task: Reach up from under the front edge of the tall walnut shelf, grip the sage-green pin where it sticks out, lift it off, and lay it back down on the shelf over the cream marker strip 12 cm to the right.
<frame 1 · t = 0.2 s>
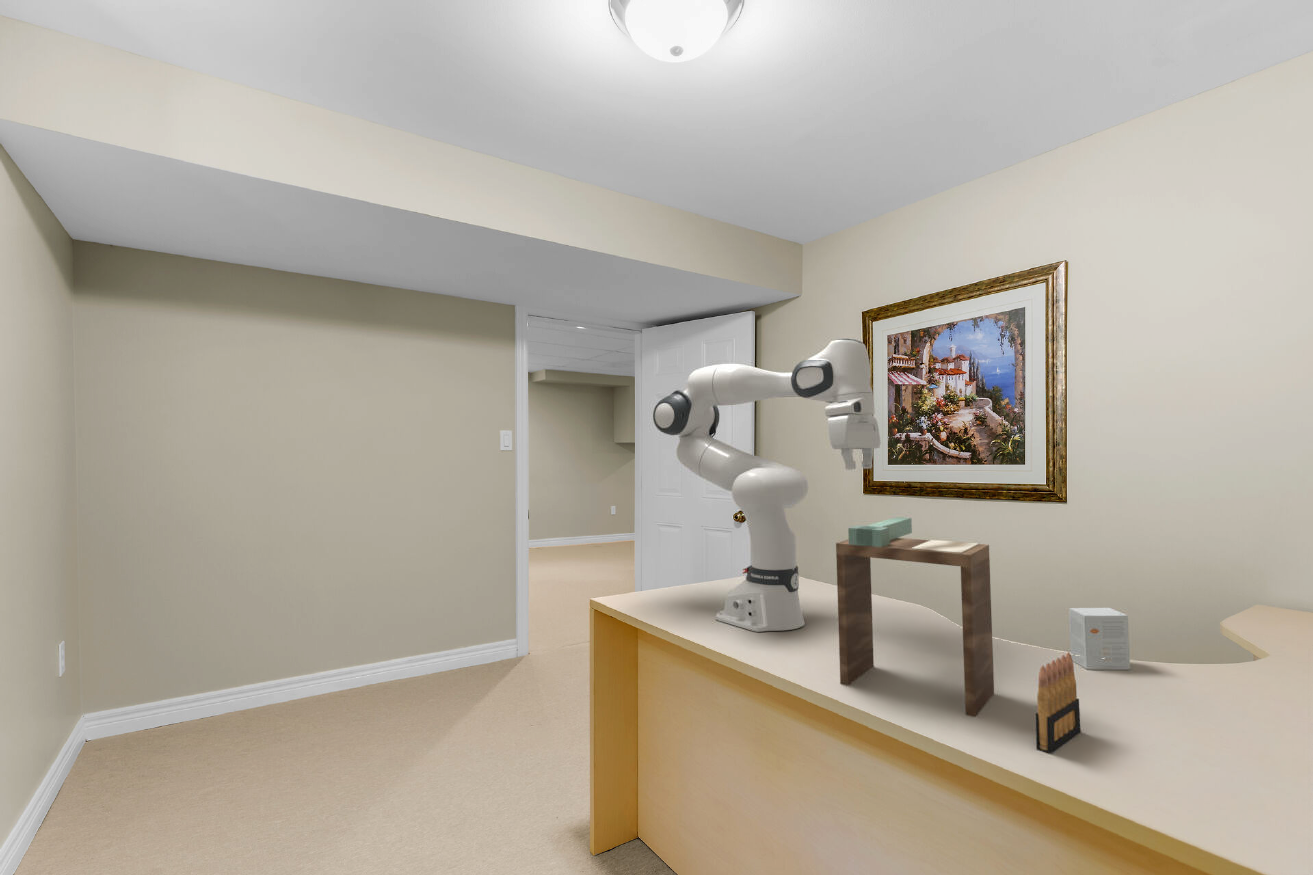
hand: (859, 469, 139), 39 cm above the table, tool pointing down, fingers open, 8 cm apart
walnut shelf: (915, 688, 111), on the table
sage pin: (885, 538, 119), point 26 cm above the table, touching walnut shelf
small box: (1099, 666, 120), on the table
ammunition clip: (1059, 741, 91), on the table
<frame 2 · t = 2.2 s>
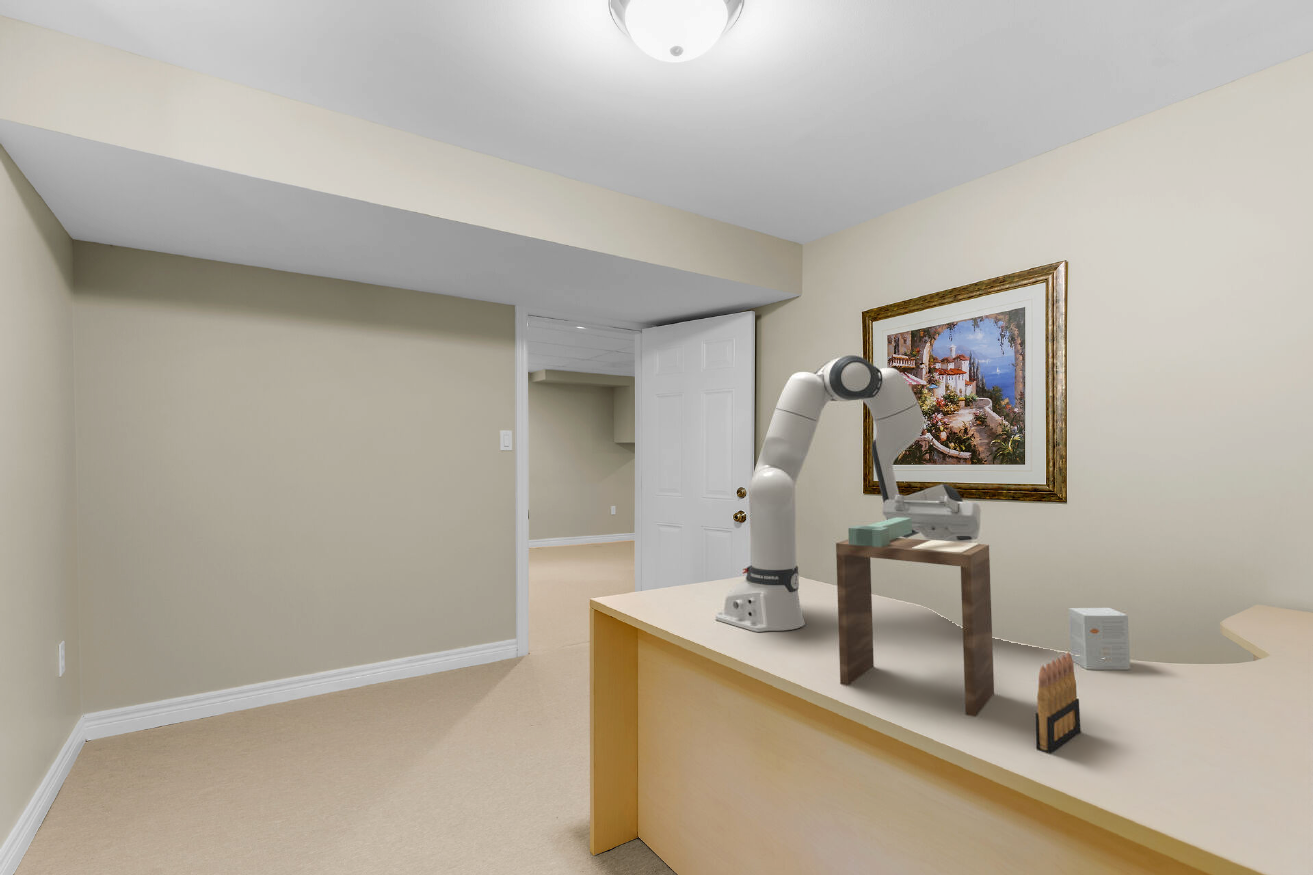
hand: (920, 498, 134), 32 cm above the table, tool pointing upward, fingers open, 8 cm apart
nothing on the table moved.
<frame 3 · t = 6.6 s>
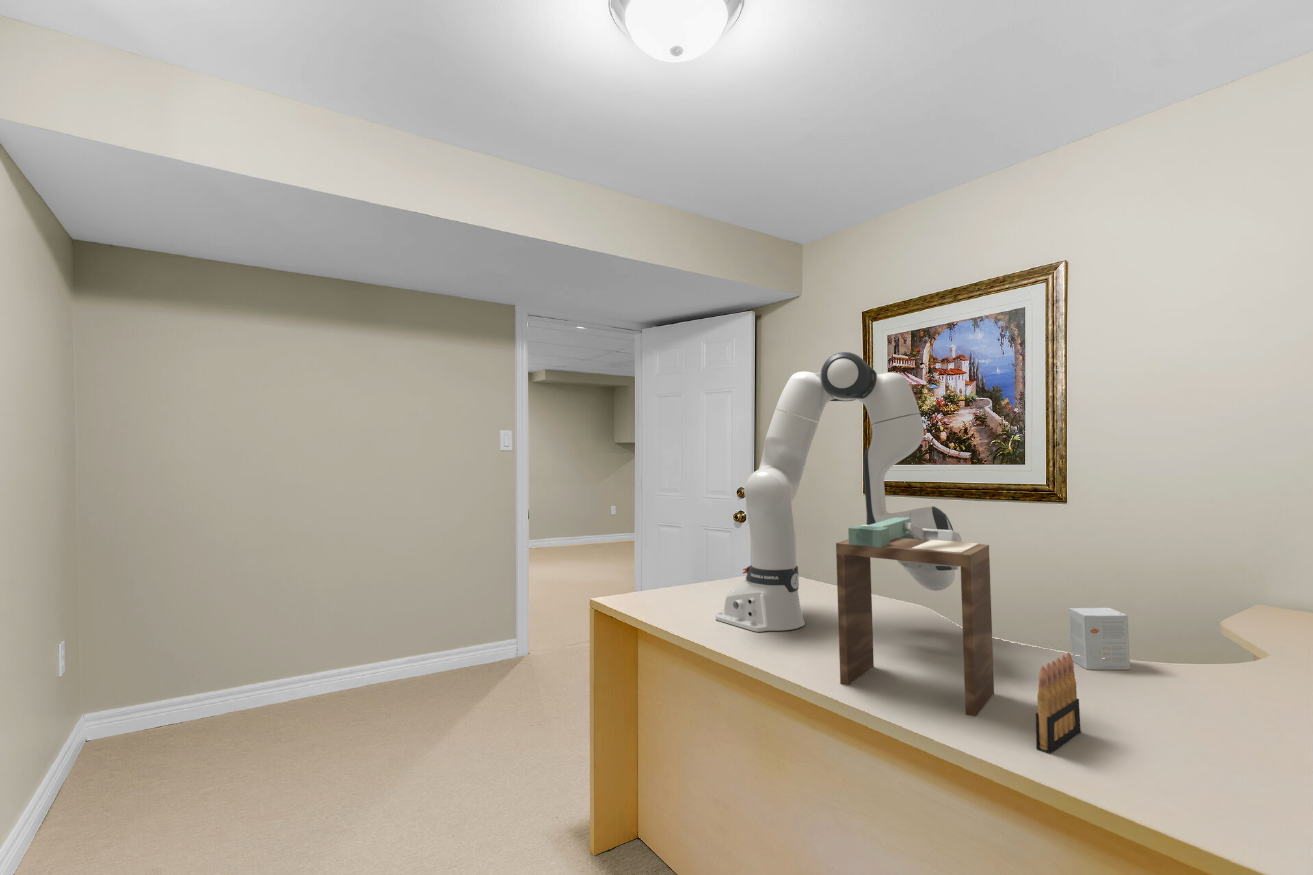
hand: (895, 525, 123), 28 cm above the table, tool pointing upward, fingers closed on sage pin, 3 cm apart
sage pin: (885, 538, 119), point 26 cm above the table, touching gripper, walnut shelf
everything else where it was.
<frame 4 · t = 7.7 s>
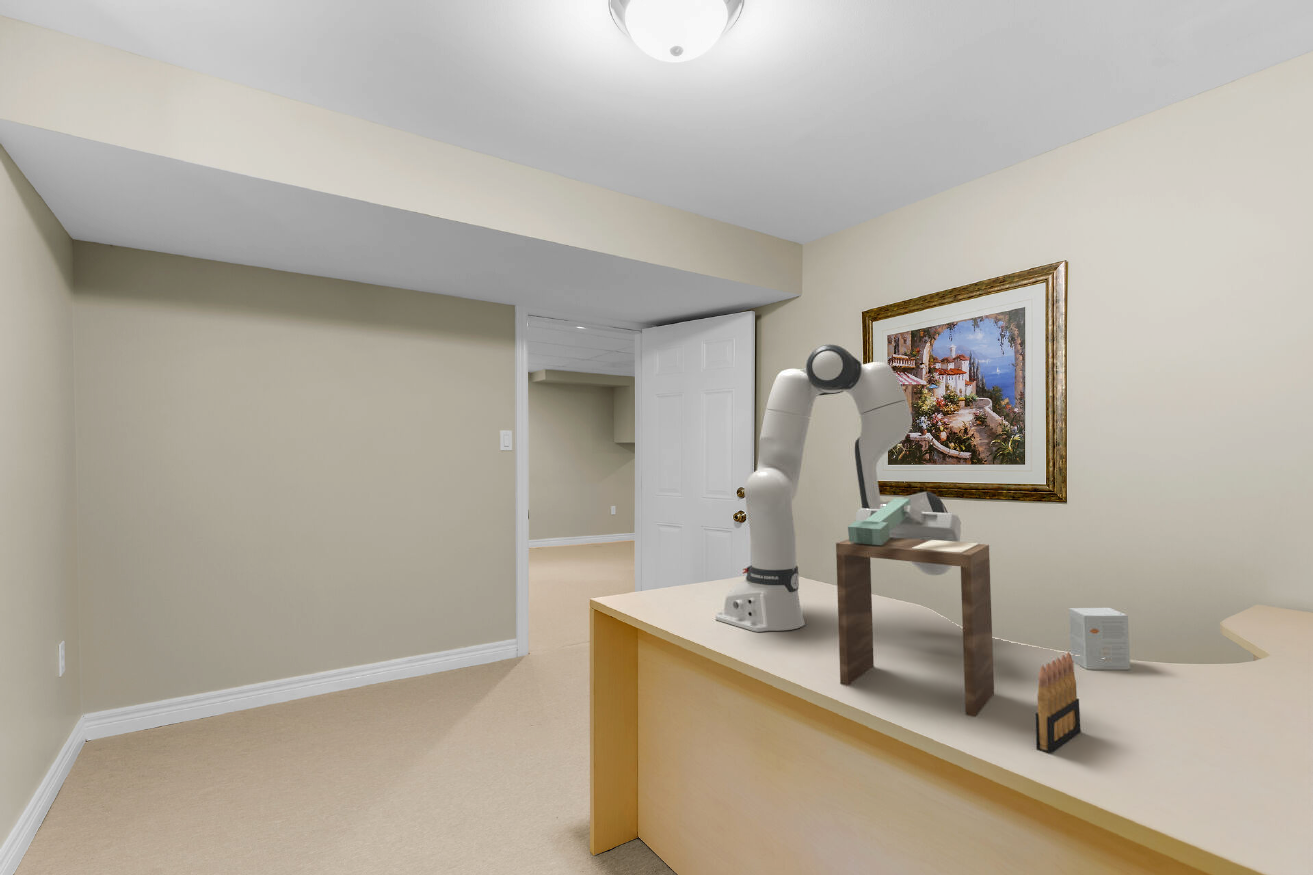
hand: (894, 508, 123), 31 cm above the table, tool pointing upward, fingers closed on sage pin, 3 cm apart
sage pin: (885, 527, 119), point 28 cm above the table, tilted 11°, touching gripper
everything else where it was.
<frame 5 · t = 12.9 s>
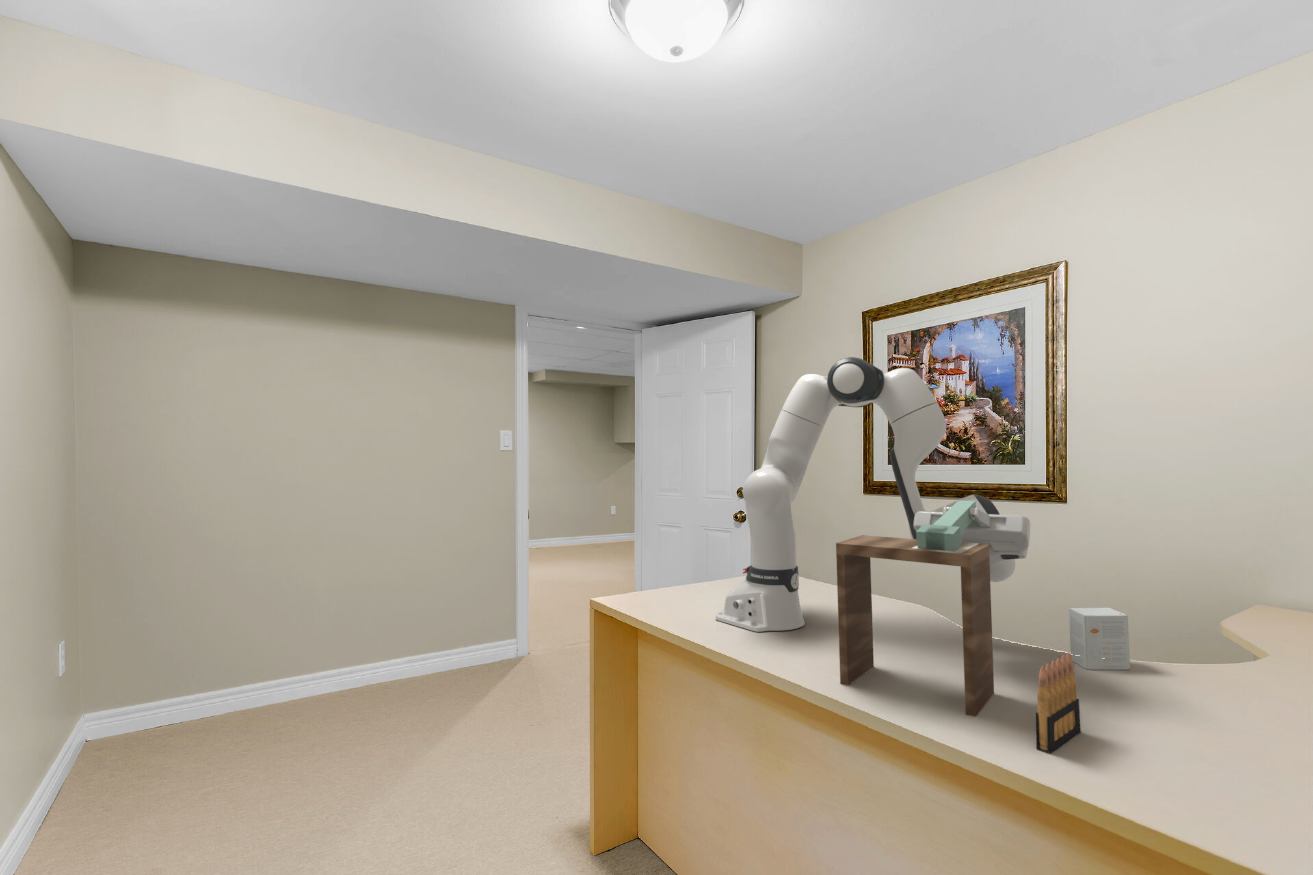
hand: (960, 510, 115), 31 cm above the table, tool pointing upward, fingers closed on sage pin, 3 cm apart
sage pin: (953, 531, 111), point 28 cm above the table, tilted 11°, touching gripper
everything else where it was.
when the fingers open (30 cm above the table, at t = 13.5 s): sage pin stays where it is, resting on walnut shelf.
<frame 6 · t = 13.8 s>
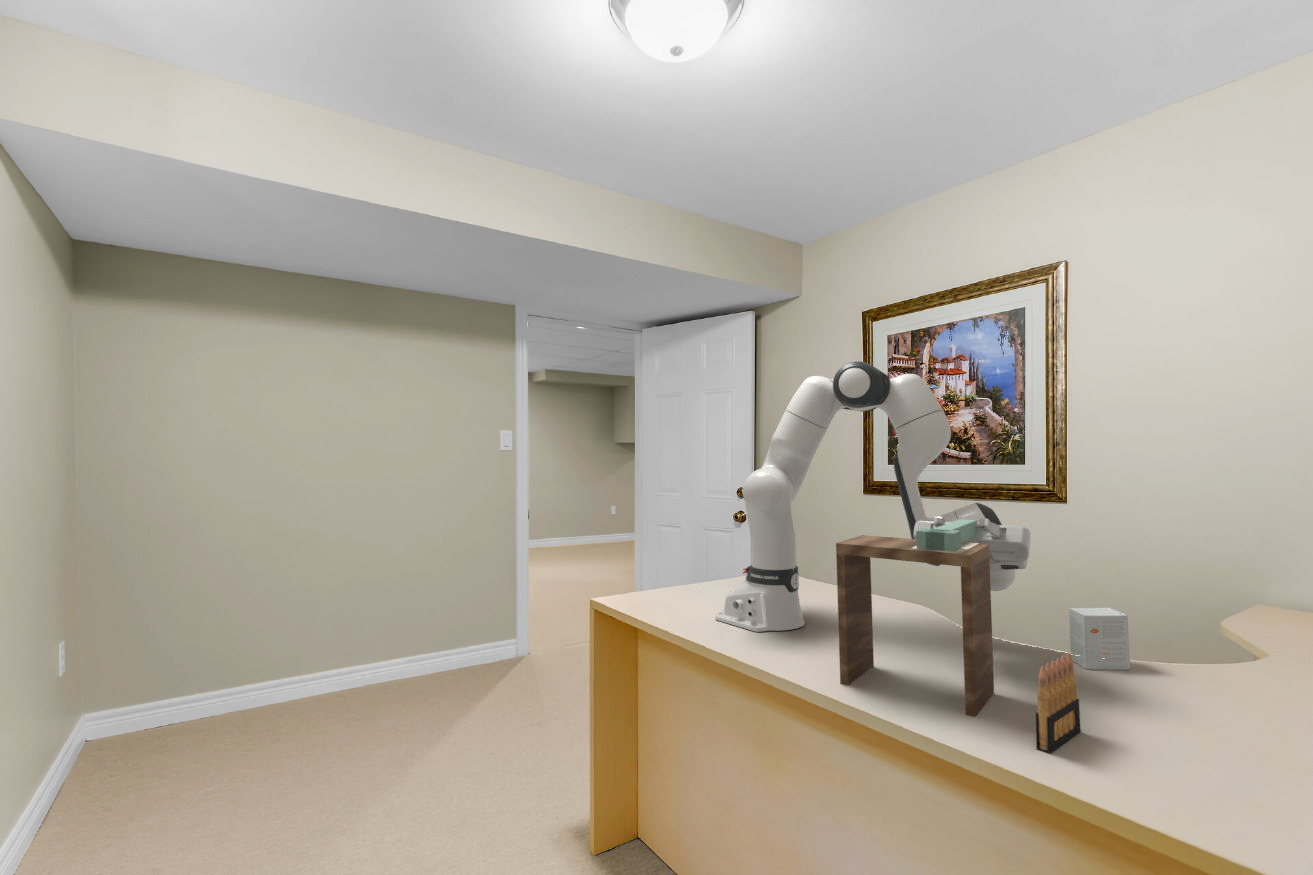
hand: (960, 521, 115), 29 cm above the table, tool pointing upward, fingers open, 6 cm apart
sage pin: (953, 542, 111), point 26 cm above the table, touching walnut shelf
everything else where it was.
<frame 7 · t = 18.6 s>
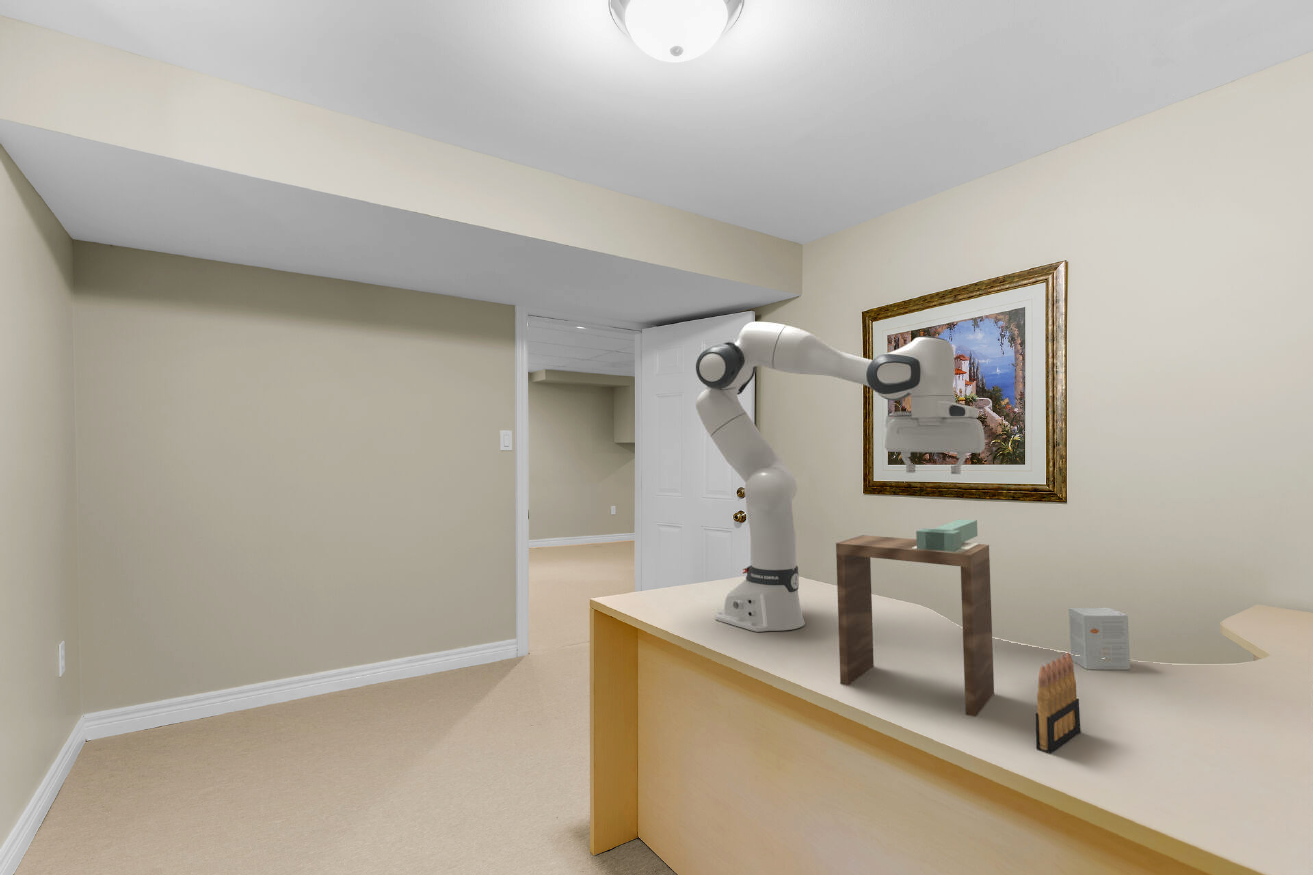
hand: (932, 473, 135), 37 cm above the table, tool pointing down, fingers open, 8 cm apart
nothing on the table moved.
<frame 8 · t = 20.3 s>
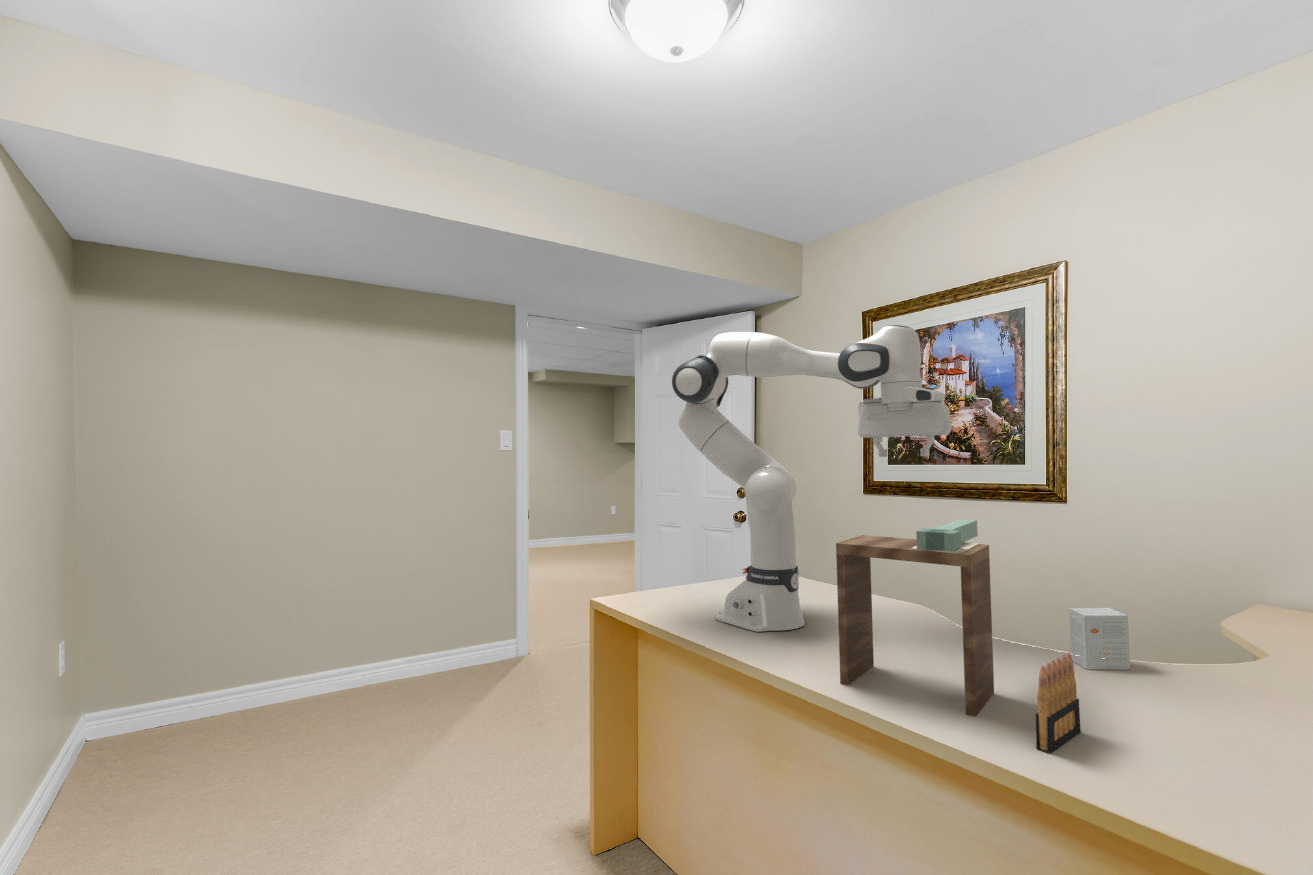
hand: (903, 456, 141), 41 cm above the table, tool pointing down, fingers open, 8 cm apart
nothing on the table moved.
at the end: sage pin 0.6 cm from the target spot, point 26.2 cm above the table; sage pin tilted 0°; the gripper is holding nothing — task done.
